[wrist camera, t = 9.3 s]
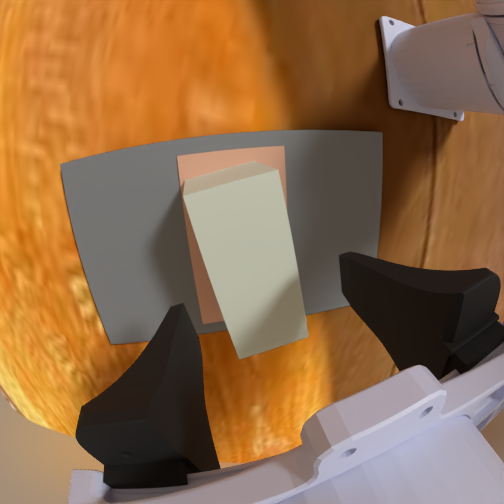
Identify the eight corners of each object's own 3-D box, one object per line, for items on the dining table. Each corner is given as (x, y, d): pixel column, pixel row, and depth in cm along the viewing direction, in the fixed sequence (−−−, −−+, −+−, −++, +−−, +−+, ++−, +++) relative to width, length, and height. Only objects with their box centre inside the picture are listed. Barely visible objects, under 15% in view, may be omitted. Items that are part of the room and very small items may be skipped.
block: (284, 295, 21) (308, 336, 17) (227, 313, 21) (239, 359, 17) (254, 160, 17) (278, 169, 13) (184, 180, 17) (182, 196, 12)
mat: (377, 131, 19) (383, 132, 18) (367, 296, 24) (371, 300, 24) (63, 163, 15) (59, 164, 15) (112, 339, 21) (111, 345, 20)
